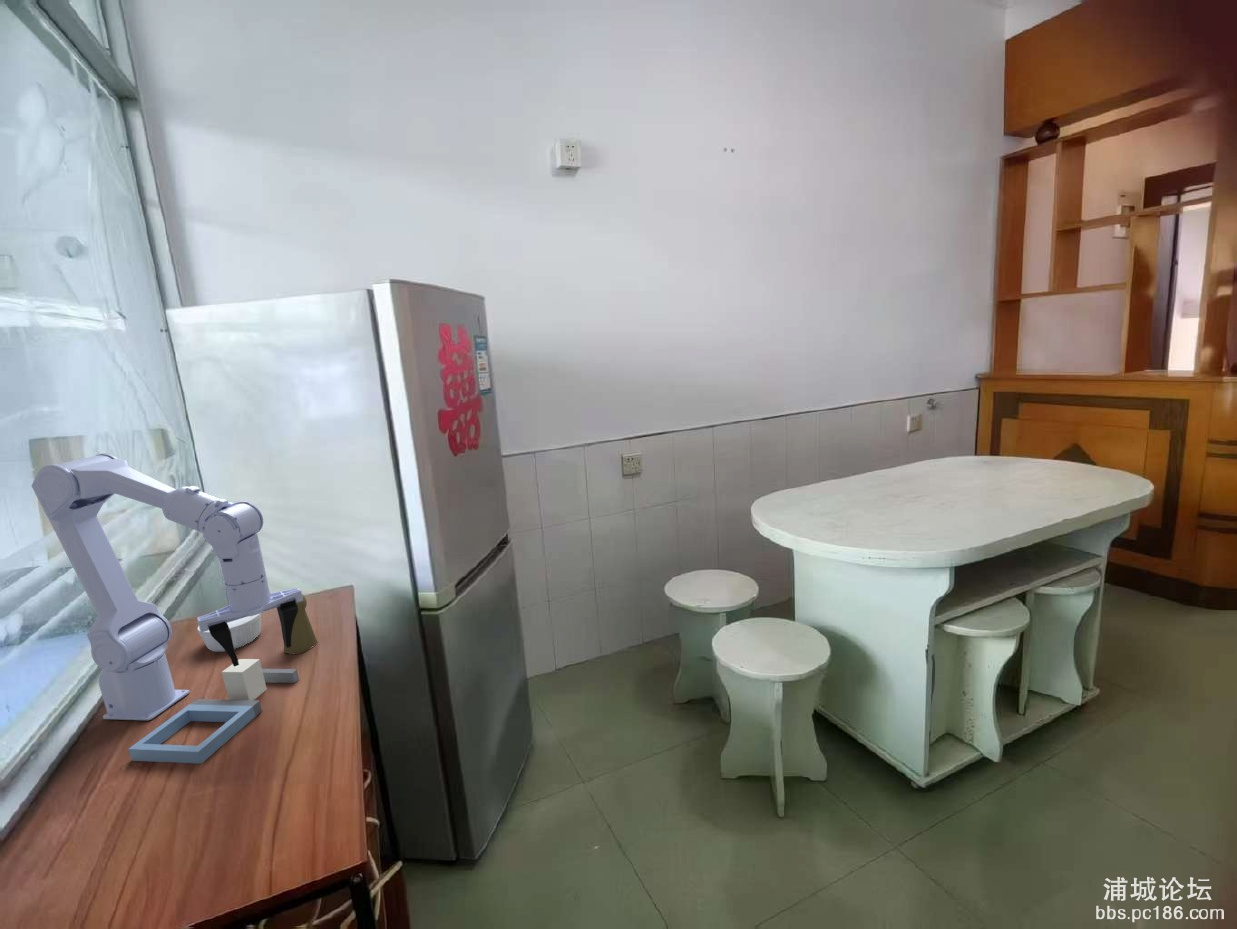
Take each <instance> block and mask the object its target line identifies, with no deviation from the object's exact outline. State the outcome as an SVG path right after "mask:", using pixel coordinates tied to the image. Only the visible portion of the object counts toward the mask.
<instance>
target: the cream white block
mask: <svg viewBox="0 0 1237 929" xmlns="http://www.w3.org/2000/svg"><path fill="white" fill-rule="evenodd" d="M238 662H239V665H237V666H233V663H232V664H230V665H229V666H228V667H226V668H225V669H224V670H222V671H221V674H222V679H223V683H224V687H225V691H226V694H227V695H226V696H227V698H228V699H227V700H256V699H257V698H259V697H260V696H261V695H262V694H264V692H266V691H267V690H268V688H267V685H266V682H265V679H264V675H263V671H262V669H263V667H262V663H261V659H259V658H239V659H238Z"/></svg>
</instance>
